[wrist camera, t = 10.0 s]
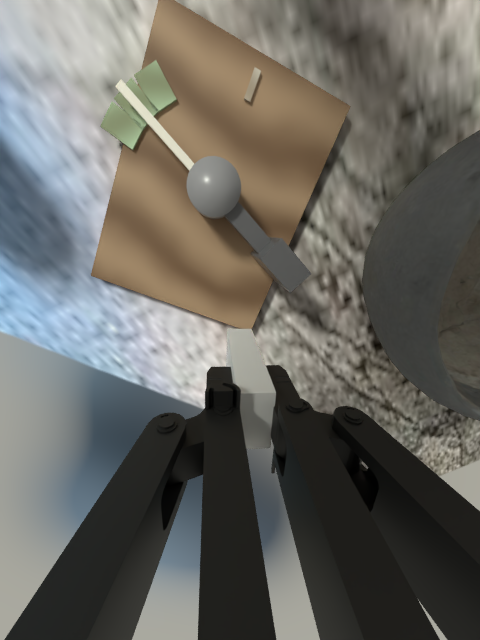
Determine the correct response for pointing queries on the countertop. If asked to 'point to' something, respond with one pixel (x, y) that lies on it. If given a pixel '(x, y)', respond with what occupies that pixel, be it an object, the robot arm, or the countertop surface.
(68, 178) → the countertop surface
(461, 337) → the bowl
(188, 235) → the board
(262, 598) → the robot arm
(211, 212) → the peg key
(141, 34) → the countertop surface
